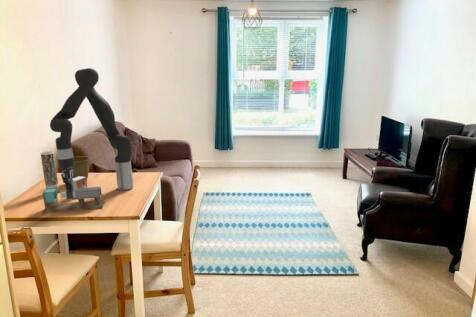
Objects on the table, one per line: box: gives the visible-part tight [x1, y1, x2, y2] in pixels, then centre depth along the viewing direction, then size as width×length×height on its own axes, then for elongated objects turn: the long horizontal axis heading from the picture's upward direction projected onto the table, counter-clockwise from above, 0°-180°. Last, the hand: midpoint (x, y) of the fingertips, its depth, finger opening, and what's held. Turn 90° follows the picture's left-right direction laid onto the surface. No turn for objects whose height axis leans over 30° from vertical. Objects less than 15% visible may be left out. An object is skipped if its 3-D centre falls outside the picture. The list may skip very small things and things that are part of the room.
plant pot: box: [71, 155, 91, 181], centre depth 230 cm, size 15×15×16 cm
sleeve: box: [75, 186, 102, 200], centre depth 188 cm, size 12×5×5 cm, turn 100°
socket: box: [42, 188, 59, 204], centre depth 185 cm, size 5×6×6 cm
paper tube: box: [40, 150, 60, 194], centre depth 209 cm, size 7×7×25 cm
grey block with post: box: [60, 179, 100, 200], centre depth 186 cm, size 19×4×10 cm, turn 100°
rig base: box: [42, 197, 106, 214], centre depth 188 cm, size 29×10×6 cm, turn 100°
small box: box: [73, 176, 88, 191], centre depth 206 cm, size 8×6×10 cm
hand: (69, 188), depth 186 cm, fingers open, 3 cm apart
